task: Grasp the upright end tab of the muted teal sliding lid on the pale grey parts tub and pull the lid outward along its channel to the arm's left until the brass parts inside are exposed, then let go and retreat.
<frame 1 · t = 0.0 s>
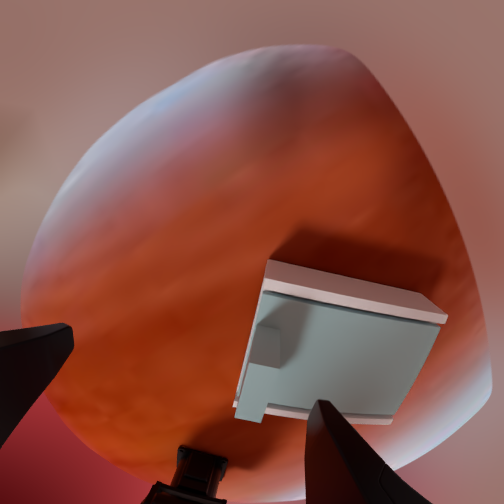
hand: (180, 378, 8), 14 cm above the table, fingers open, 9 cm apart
lid: (347, 384, 16), point 7 cm above the table, slide at 0.0 cm
parts tub: (332, 336, 23), on the table
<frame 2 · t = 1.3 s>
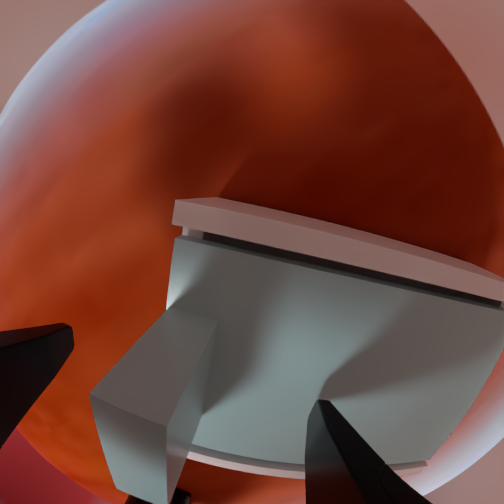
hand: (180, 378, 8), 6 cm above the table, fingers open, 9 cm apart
lid: (363, 437, 7), point 7 cm above the table, slide at 0.0 cm
parts tub: (332, 337, 13), on the table
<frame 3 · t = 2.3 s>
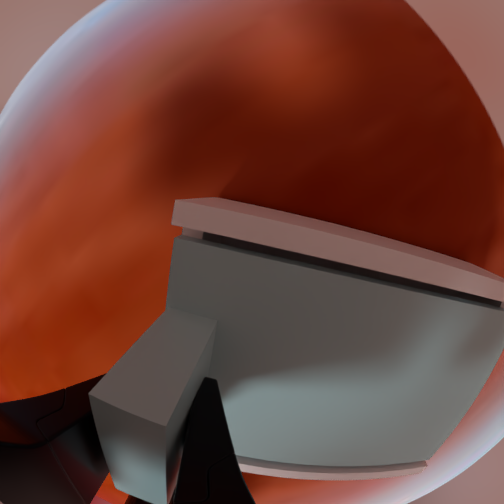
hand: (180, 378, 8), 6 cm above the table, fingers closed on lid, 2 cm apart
lid: (362, 438, 7), point 7 cm above the table, slide at 0.0 cm, touching gripper
parts tub: (332, 337, 13), on the table
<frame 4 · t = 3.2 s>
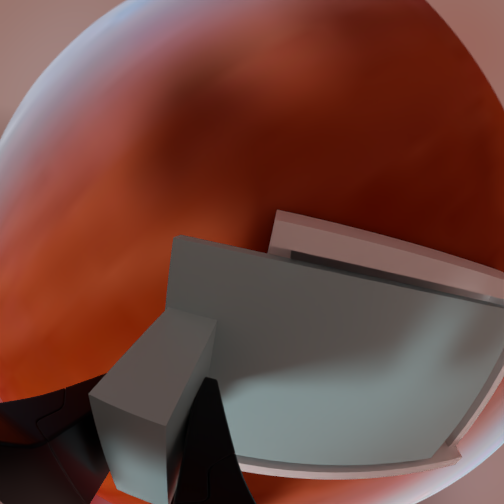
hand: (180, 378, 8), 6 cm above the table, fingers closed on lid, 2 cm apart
lid: (363, 436, 7), point 7 cm above the table, slide at 2.9 cm, touching gripper
parts tub: (381, 343, 13), on the table
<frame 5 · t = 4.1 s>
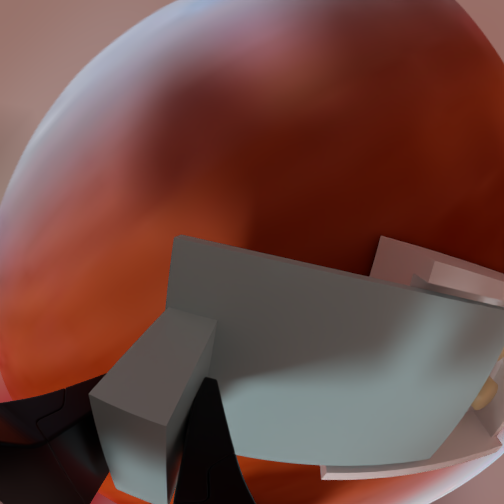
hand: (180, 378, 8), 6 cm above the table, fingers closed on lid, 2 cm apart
lid: (363, 437, 7), point 7 cm above the table, slide at 7.8 cm, touching gripper
parts tub: (446, 351, 13), on the table
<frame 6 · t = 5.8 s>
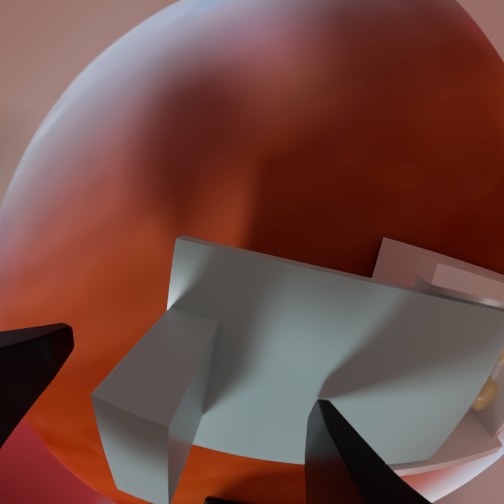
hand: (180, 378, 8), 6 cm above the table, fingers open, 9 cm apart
lid: (363, 437, 7), point 7 cm above the table, slide at 7.9 cm
parts tub: (447, 352, 13), on the table
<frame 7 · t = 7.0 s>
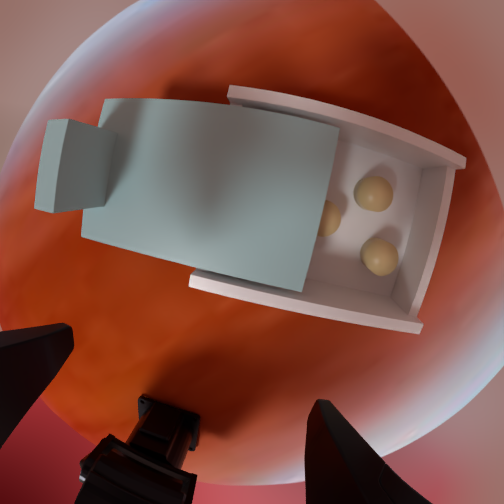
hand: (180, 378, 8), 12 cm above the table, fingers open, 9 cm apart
lid: (177, 180, 12), point 7 cm above the table, slide at 7.9 cm
parts tub: (326, 209, 18), on the table
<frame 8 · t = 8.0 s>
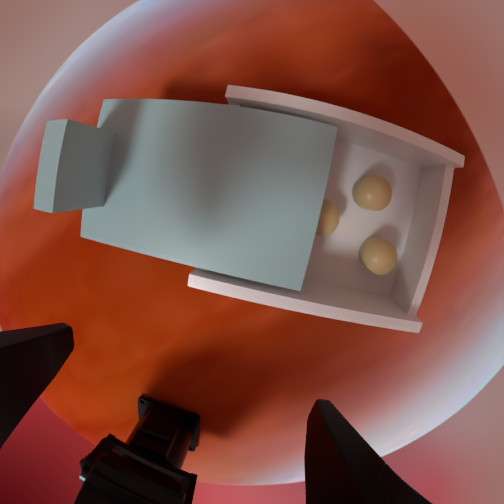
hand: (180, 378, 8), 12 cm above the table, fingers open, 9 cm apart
lid: (175, 180, 12), point 7 cm above the table, slide at 7.9 cm
parts tub: (325, 209, 18), on the table
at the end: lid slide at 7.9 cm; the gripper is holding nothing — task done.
